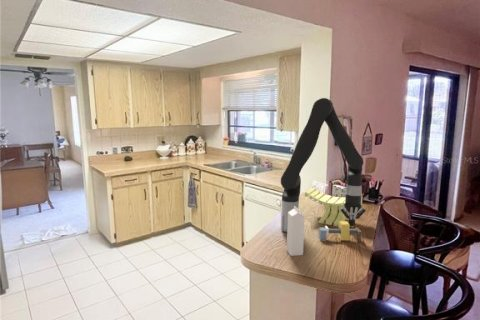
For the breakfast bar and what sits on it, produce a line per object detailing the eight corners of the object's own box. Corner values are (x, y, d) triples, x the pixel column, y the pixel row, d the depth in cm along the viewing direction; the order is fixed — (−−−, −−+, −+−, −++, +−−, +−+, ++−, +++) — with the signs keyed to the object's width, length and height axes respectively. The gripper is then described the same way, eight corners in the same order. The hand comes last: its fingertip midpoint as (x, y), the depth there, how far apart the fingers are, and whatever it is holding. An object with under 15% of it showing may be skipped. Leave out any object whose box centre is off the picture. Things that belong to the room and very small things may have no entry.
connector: (320, 240, 154) (320, 230, 153) (318, 237, 158) (319, 227, 157) (326, 240, 154) (326, 230, 153) (324, 237, 158) (324, 227, 157)
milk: (298, 249, 144) (300, 205, 141) (303, 255, 138) (305, 209, 135) (286, 250, 143) (287, 205, 140) (290, 256, 138) (292, 209, 134)
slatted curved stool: (360, 221, 182) (362, 192, 180) (355, 229, 169) (357, 199, 166) (312, 212, 198) (313, 186, 195) (304, 219, 185) (305, 191, 182)
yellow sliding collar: (341, 240, 153) (341, 224, 152) (338, 236, 158) (339, 221, 157) (348, 240, 153) (349, 224, 152) (346, 236, 158) (346, 221, 157)
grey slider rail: (321, 233, 155) (321, 229, 155) (320, 231, 157) (320, 228, 156) (360, 233, 154) (360, 230, 154) (359, 232, 156) (359, 229, 156)
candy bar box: (347, 212, 199) (348, 188, 197) (340, 212, 198) (342, 188, 195) (337, 207, 210) (338, 184, 207) (330, 207, 208) (332, 184, 206)
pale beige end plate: (326, 236, 154) (326, 228, 153) (324, 233, 158) (324, 225, 157) (328, 236, 154) (328, 228, 153) (326, 233, 158) (326, 225, 157)
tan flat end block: (357, 242, 153) (358, 231, 152) (353, 237, 159) (354, 227, 158) (360, 242, 153) (361, 231, 152) (356, 237, 158) (357, 227, 158)
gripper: (342, 195, 149) (340, 228, 151) (369, 195, 148) (367, 229, 151) (338, 191, 156) (336, 223, 159) (363, 191, 156) (361, 223, 158)
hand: (351, 225), depth 155 cm, fingers closed
